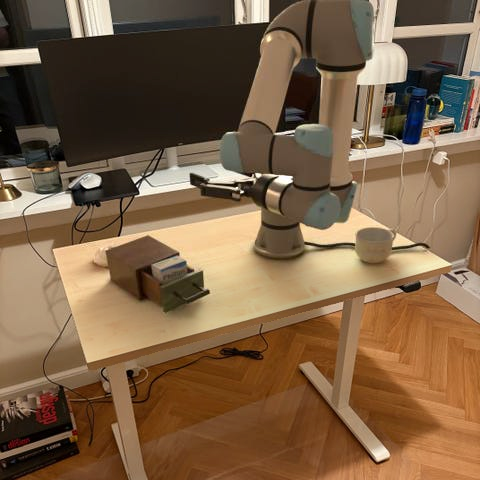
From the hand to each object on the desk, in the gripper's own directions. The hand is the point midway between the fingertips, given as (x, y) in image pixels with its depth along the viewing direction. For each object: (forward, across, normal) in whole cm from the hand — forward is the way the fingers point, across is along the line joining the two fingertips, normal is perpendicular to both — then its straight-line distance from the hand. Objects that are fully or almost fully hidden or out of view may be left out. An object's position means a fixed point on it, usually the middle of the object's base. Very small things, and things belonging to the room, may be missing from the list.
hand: (212, 171), depth 120 cm
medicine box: (0, -15, -28) cm, 32 cm away
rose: (+30, -16, -30) cm, 46 cm away
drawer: (-2, -15, -29) cm, 33 cm away
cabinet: (+12, -16, -30) cm, 36 cm away
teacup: (-24, +42, -30) cm, 57 cm away
